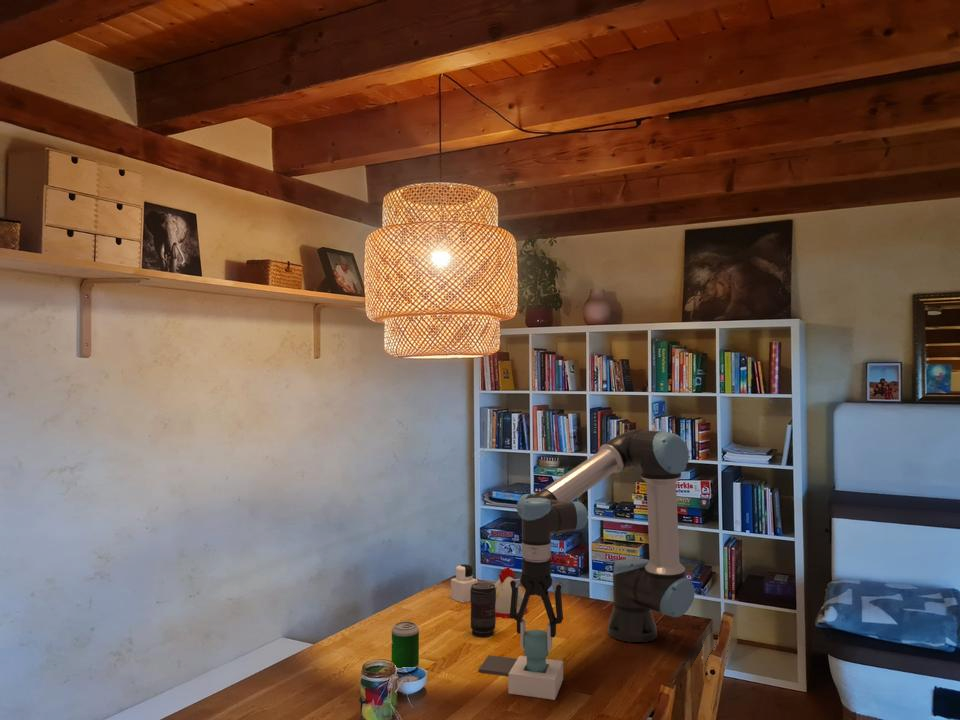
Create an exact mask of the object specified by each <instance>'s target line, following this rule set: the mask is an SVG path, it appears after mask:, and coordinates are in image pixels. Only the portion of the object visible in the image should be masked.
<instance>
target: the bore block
mask: <svg viewBox="0 0 960 720" xmlns="http://www.w3.org/2000/svg"><path fill="white" fill-rule="evenodd" d="M516 659H517V661H516V662H515V664H514V666H513V667H512V669H511V670H510V672H509V676H508V679H507V680H508V681H507V682H508V691H507V692H508V694H509V695H518V696H525V697H532V698H538V699H546V700H547V699H548V700H552V701H553V700H554V701H555V700H556V698H557V696H558V693H559V690H560V688H561V686H562V685H563V684H562V683H563V682H564V661H563V660H559V659H558V660H557V659H551V658H550V659H549V658H546V672H545V673H540V672H532V671H527V656H525V655H519V656H518V658H516ZM562 681H563V682H562Z"/></svg>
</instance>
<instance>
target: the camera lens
mask: <svg viewBox="0 0 960 720" xmlns="http://www.w3.org/2000/svg"><path fill="white" fill-rule="evenodd" d="M494 584H495V583H492V582H487V581H486V582H485V581H483V582H482V581H481V582H478V583H475V584H472V585H471V589H470V601H469V602H470V629H471V631H472V632H471V633H472V635H473V636H475V637H479V638H487V637H491V636H493V635H494V633H495V632H494V631H495V629H496V624H497V623H496V620H497V619H496V618H497V617H496V615H495V603H496V588H495V585H494Z"/></svg>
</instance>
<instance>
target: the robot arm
mask: <svg viewBox="0 0 960 720" xmlns="http://www.w3.org/2000/svg"><path fill="white" fill-rule="evenodd" d="M689 460H690V452H689V448H688V445H687V443H686V442H685V440H684V439H683V438H682V437H681V436H680V435H678V434H677V433H673V432H668V431H665V430H664V431H661V430H648V429H647V430H646V429H631V430H629V431H625V432H623V433H621V434H618V435H617V436H615V437H613V438H611V439H610V440H608V441H606V442H605V443H603V444H602V445H601V446H600V447H599V449H598V452H596V453H594V454H593V455H592V456H590V457H589V458H587V459H586V460H584V461H583V462H581V463H580V464H578V465H577V466H575V467H574V468H572V469H571V470H569V471H568V472H567V473H565V474H564V475H562V476H561V477H559V478H557V479H556V480H555V481H553V482H551V483H550V484H549V485H547V486H546V487H544V488H542V489H541V490H540V491H538V492H536V493H535V494H534V493H525V494H522V495H521V497H520V498H519V499H518V500H517V502H516V511H517V515H518V516H519V517H520V518H521V557H522V559H521V577H520V578H514V577H513V580H512V581H511V582H510V585H511V589H512V595H511V606H510V618H509V619H512V620H514V621H516V633H517V634H519V635H520V648H521V649H524V633H525V632H526V631H527V630H526V629H527V626H526V625H527V624H526V622H527V620H526V619H524V616H525V615H524V613H525V610H526V607H527V608H528V605H529V604H528V603H529V601H530V597H531V596H537V597H540V598H541V600H542V601H543V605H544V609H545V612H546V615H547V618H548V621H549V622H548V623H547V626H546V632H547V651H549V652H551V650H552V649H553V638H555V637H556V635H557V625H559V624H562V623H563V620H564V613H563V611H564V610H563V601H562V600H563V598H562V589H563V586H564V585H563V583H562V582H555V581H553V578H552V575H551V574H552V569H551V568H552V567H551V566H552V562H551V559H550V558H552V545H551V543H552V534H553V535H554V534H559V533H566V532H567V533H568V532H575V531H578V530H582V529H584V528H585V527H586V525H587V524H588V521H589V516H588V515H589V513H588V510H587V507H586V506H585V505H584V503H582V502H581V501H574V500H575V499H577V498H578V497H580V496H582V495H583V494H584V493H586V492H587V491H588V490H590V489H591V488H593V487H595V486H596V485H597V484H599V483H600V482H602V481H603V480H604V479H606V478H607V477H609V476H610V475H612V474H613V473H615V474H616V473H617V474H618V473H620V472H623V470H625V469H629V468H639V469H640V478H641V479H642V480H643V481H644V482H645V483H646V484H645V485H646V501H647V502H646V503H647V504H646V505H647V506H646V507H647V524H648V525H647V527H648V551H649V559H645V558H626V559H625V558H624V559H619V560H617V561H616V562H615V563H614V564H613V573H612V582H613V583H612V590H613V592H612V593H613V595H612V596H613V599H612V601H613V602H612V603H613V608H612V612H611V614H610V616H609V617H610V618H609V620H608V623H607V634H608V635H609V637H612V638H613V639H615V640H617V639H618V640H617V641H620V640H621V642H624V641H627V642H626V643H631V642H644V643H649V642H648V641H650V642H653V641H654V639H655V638H656V639H657V638H658V628H657V625H656V621H655V618H654V615H653V612H652V611H655V612H657V613H660V614H661V615H663V616H668V617H673V618H679V617H682V616H683V615H685V614H686V613H687V612H688V611H689V609H690V608H691V607H692V604H693V603H694V599H695V595H696V590H695V586H694V584H693V582H692V581H691V580H690V579H688V578H687V577H686V568H685V566H684V565H683V564H682V563H680V544H679V543H680V542H679V525H678V524H679V521H678V520H679V519H678V501H677V498H678V497H677V495H678V494H677V482H678V481H680V479H681V478H682V473H683V472H684V471H685V470H686V469H687V464H689ZM521 585H522V587H523V588H524V590H525V592H524V593H525V594H524V598H523V601H522V604H521V607H520V610H519V613H516V612H517V600H518V587H519V586H521ZM551 587H552V590H553V591H554V601H555V610H554V608H553V605H552V602H551V599H550V595H549V589H550V588H551ZM554 611H555V612H554ZM523 615H524V616H523ZM656 639H655V640H656ZM622 640H623V641H622ZM652 640H653V641H652Z"/></svg>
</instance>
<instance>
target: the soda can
mask: <svg viewBox="0 0 960 720" xmlns="http://www.w3.org/2000/svg"><path fill="white" fill-rule="evenodd" d="M419 655H420V629H419V627H418V625H417V624H416V623H415V622H413V621H400V622H397V623H395V624H394V626H393V627H392V628H391V663H392V662H393V663H394V664H395V665H396V667H397V668H402V667H417V668H418V667H419V666H420V665H419V664H420V657H419Z"/></svg>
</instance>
